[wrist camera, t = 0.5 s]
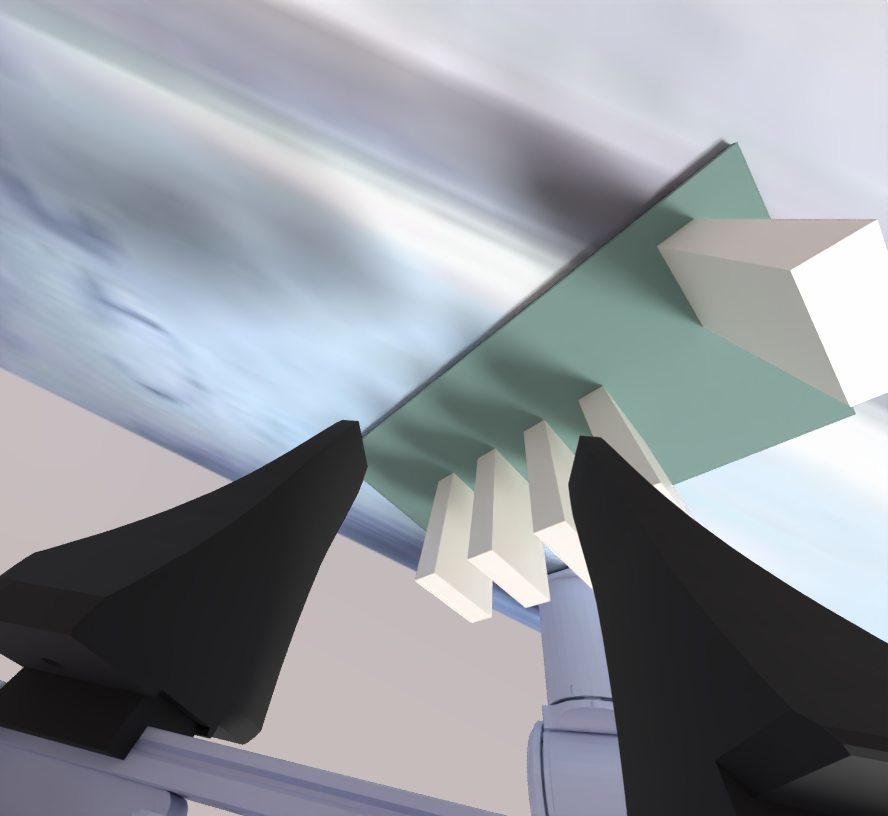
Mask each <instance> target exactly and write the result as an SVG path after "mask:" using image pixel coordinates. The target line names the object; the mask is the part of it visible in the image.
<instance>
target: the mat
mask: <svg viewBox="0 0 888 816" xmlns="http://www.w3.org/2000/svg"><path fill="white" fill-rule="evenodd" d="M693 219H771V218H770V216H769V214H768V211H767V209H766V207H765V204H764V202H763V200H762V198H761V195H760V193H759V191H758V188H757V186H756V184H755V181H754V179H753V177H752V175H751V172H750V170H749V168H748V165H747V163H746V161H745V158H744V156H743V154H742V152H741V149H740V147H739V145H738V142H737V143H733V144H731V145H730V146H728V147H727V148H726V149H725V150H723V151H722V152H721V153H720V154H718V155H717V156H716V157H714V158H713V159H712V160H711V161H709V162H708V163H707V164H706V165H704V166H703V167H702V168H701V169H699V170H698V171H697V172H696V173H694V174H693V175H692V176H691V177H689V178H688V179H687V180H686V181H684V182H683V183H682V184H681V185H679V186H678V187H677V188H676V189H674V190H673V191H672V192H671V193H669V194H668V195H667V196H665V197H664V198H663V199H662V200H660V201H659V202H658V203H657V204H655V205H654V206H653V207H652V208H650V209H649V210H648V211H647V212H645V213H644V214H643V215H642V216H640V217H639V218H638V219H637V220H635V221H634V222H633V223H632V224H630V225H629V226H628V227H627V228H625V229H624V230H623V231H622V232H620V233H619V234H618V235H616V236H615V237H614V238H613V239H611V240H610V241H609V242H608V243H606V244H605V245H604V246H603V247H601V248H600V249H599V250H598V251H596V252H595V253H594V254H593V255H591V256H590V257H589V258H588V259H586V260H585V261H584V262H583V263H581V264H580V265H579V266H578V267H576V268H575V269H574V270H572V271H571V272H570V273H569V274H567V275H566V276H565V277H564V278H562V279H561V280H560V281H559V282H557V283H556V284H555V285H554V286H552V287H551V288H550V289H549V290H547V291H546V292H545V293H544V294H542V295H541V296H540V297H539V298H537V299H536V300H535V301H534V302H532V303H531V304H530V305H529V306H527V307H526V308H525V309H523V310H522V311H521V312H520V313H518V314H517V315H516V316H515V317H513V318H512V319H511V320H510V321H508V322H507V323H506V324H505V325H503V326H502V327H501V328H500V329H498V330H497V331H496V332H495V333H493V334H492V335H491V336H490V337H488V338H487V339H486V340H485V341H483V342H482V343H481V344H480V345H478V346H477V347H476V348H474V349H473V350H472V351H471V352H469V353H468V354H467V355H466V356H464V357H463V358H462V359H461V360H459V361H458V362H457V363H456V364H454V365H453V366H452V367H451V368H449V369H448V370H447V371H446V372H444V373H443V374H442V375H441V376H439V377H438V378H437V379H436V380H434V381H433V382H432V383H430V384H429V385H428V386H427V387H425V388H424V389H423V390H422V391H420V392H419V393H418V394H417V395H415V396H414V397H413V398H412V399H410V400H409V401H408V402H407V403H405V404H404V405H403V406H402V407H400V408H399V409H398V410H397V411H395V412H394V413H393V414H392V415H390V416H389V417H388V418H387V419H385V420H384V421H383V422H381V423H380V424H379V425H378V426H376V427H375V428H374V429H373V430H371V431H370V432H369V433H368V434H366V435H365V436H364V437H363V438H362V440H363V445H364V450H365V455H366V460H367V465H368V468H367V471H366V474H365V476H364V479H363V480H364V481H365V482H367V483H368V484H369V485H370V486H372V487H373V488H374V489H375V490H376V491H378V492H379V493H380V494H381V495H383V496H384V497H385V498H386V499H387V500H389V501H390V502H391V503H392V504H394V505H395V506H396V507H397V508H398V509H400V510H401V511H402V512H403V513H405V514H406V515H407V516H408V517H409V518H411V519H412V520H413V521H414V522H415V523H417V524H418V525H419V526H420V527H422V528H423V529H424V530H425V531H426V532H427V527H428V523H429V519H430V515H431V511H432V507H433V503H434V499H435V494H436V490H437V486H438V482H439V481H440V480H442V479H444V478H445V477H447V476H449V475H450V474H452V473H455V474H456V475H457V476H458V477H459V478H460V479H461V480H462V481H463V482H464V483H465V484H466V485H467V486H468V487H470V488H471V489H472V490H473V491H474V490H475V480H476V471H477V461H478V458H480V457H481V456H483V455H485V454H486V453H488V452H490V451H492V450H493V449H496V450H497V451H498V452H499V453H500V454H501V455H502V456H503V457H504V458H505V459H506V460H507V461H508V462H509V463H510V464H511V465H512V466H513V467H514V468H515V469H516V470H517V471H518V472H519V473H520V474H521V475H522V476H523V477H524V479H525V480H526V481H527V482H528V472H527V462H526V452H525V441H524V431H526V430H528V429H529V428H531V427H533V426H534V425H536V424H538V423H540V422H541V421H543V420H545V421H546V423H547V424H548V425H549V426H550V427H551V428H552V429H553V431H554V432H555V433H556V434H557V435H558V436H559V437H560V439H561V440H562V441H563V442H564V443H565V444H566V446H567V447H568V448H569V449H570V450H571V451H572V452H573V454H574V455H575V453H576V449H577V445H578V441H579V436H593V435H592V432H591V430H590V428H589V425H588V423H587V420H586V418H585V416H584V413H583V411H582V408H581V406H580V404H579V401H578V400H579V399H581V398H583V397H584V396H586V395H588V394H589V393H591V392H593V391H595V390H596V389H598V388H600V387H601V386H604V388H605V389H606V390H607V392H608V393H609V394H610V396H611V397H612V398H613V400H614V401H615V402H616V404H617V405H618V406H619V408H620V409H621V410H622V412H623V413H624V414H625V416H626V417H627V418H628V420H629V421H630V422H631V424H632V425H633V426H634V428H635V429H636V430H637V432H638V433H639V434H640V436H641V437H642V438H643V440H644V441H645V443H646V444H647V446H648V447H649V449H650V450H651V452H652V454H653V455H654V457H655V458H656V460H657V461H658V463H659V465H660V466H661V468H662V469H663V471H664V472H665V474H666V476H667V477H668V479H669V480H670V482H671V483H672V485H675V484H677V483H680V482H682V481H685V480H687V479H690V478H693V477H695V476H698V475H700V474H703V473H705V472H708V471H711V470H713V469H716V468H718V467H721V466H723V465H726V464H729V463H731V462H734V461H736V460H739V459H741V458H744V457H747V456H749V455H752V454H754V453H757V452H759V451H762V450H765V449H767V448H770V447H772V446H775V445H777V444H780V443H783V442H785V441H788V440H790V439H793V438H795V437H798V436H801V435H803V434H806V433H808V432H811V431H813V430H816V429H819V428H821V427H824V426H826V425H829V424H831V423H834V422H837V421H839V420H842V419H844V418H847V417H849V416H852V415H855V411H854V409H853V407H852V406H851V407H850V406H848V405H846V404H844V403H842V402H840V401H839V400H837V399H835V398H833V397H831V396H829V395H828V394H826V393H824V392H822V391H820V390H818V389H816V388H815V387H813V386H811V385H809V384H807V383H805V382H804V381H802V380H800V379H798V378H796V377H794V376H792V375H791V374H789V373H787V372H785V371H783V370H781V369H780V368H778V367H776V366H774V365H772V364H770V363H769V362H767V361H765V360H763V359H761V358H759V357H757V356H756V355H754V354H752V353H750V352H748V351H746V350H745V349H743V348H741V347H739V346H737V345H735V344H733V343H732V342H730V341H728V340H726V339H724V338H722V337H721V336H719V335H717V334H715V333H713V332H711V331H710V330H708V329H706V328H704V327H703V326H702V324H701V322H700V321H699V319H698V317H697V315H696V314H695V312H694V310H693V308H692V307H691V305H690V303H689V301H688V300H687V298H686V296H685V294H684V293H683V291H682V289H681V287H680V286H679V284H678V282H677V281H676V279H675V277H674V275H673V274H672V272H671V270H670V268H669V267H668V265H667V263H666V261H665V260H664V258H663V256H662V254H661V253H660V251H659V249H658V248H657V246H658V245H659V244H660V243H662V242H663V241H664V240H666V239H667V238H669V237H670V236H671V235H673V234H674V233H675V232H677V231H678V230H679V229H681V228H682V227H683V226H685V225H686V224H688V223H689V222H690V221H692V220H693ZM528 483H529V482H528Z"/></svg>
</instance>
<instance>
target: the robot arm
mask: <svg viewBox="0 0 888 816" xmlns="http://www.w3.org/2000/svg"><path fill="white" fill-rule="evenodd" d="M367 468H368V465H367V460H366V455H365V450H364V445H363V440H362V436H361V431H360V426H359V421H349V420H341V421H339V422H337V423H335V424H333V425H332V426H330V427H328V428H327V429H325V430H323V431H322V432H320V433H319V434H317V435H315V436H314V437H312V438H310V439H309V440H307V441H306V442H304V443H302V444H301V445H299V446H297V447H296V448H294V449H292V450H291V451H289V452H288V453H286V454H284V455H282V456H281V457H279V458H277V459H275V460H273V461H272V462H270V463H268V464H266V465H265V466H263V467H261V468H259V469H258V470H256V471H254V472H252V473H250V474H248V475H246V476H244V477H242V478H240V479H238V480H236V481H234V482H232V483H230V484H228V485H226V486H224V487H221V488H219V489H217V490H215V491H213V492H211V493H208V494H206V495H203V496H201V497H199V498H196V499H194V500H191V501H189V502H186V503H184V504H182V505H179V506H177V507H174V508H172V509H169V510H167V511H164V512H161V513H158V514H156V515H153V516H150V517H148V518H145V519H142V520H139V521H136V522H133V523H130V524H127V525H125V526H122V527H119V528H116V529H113V530H110V531H106V532H103V533H100V534H97V535H93V536H90V537H87V538H83V539H80V540H77V541H73V542H70V543H67V544H63V545H60V546H57V547H54V548H50V549H47V550H43V551H39V552H35V553H33V554H32V555H30V556H28V557H26V558H25V559H23V560H22V561H20V562H19V563H17V564H16V565H14V566H13V567H12V568H10V569H9V570H7V571H6V572H5V573H3V574H2V575H1V576H0V654H2V655H4V656H5V657H7V658H9V659H10V660H12V661H14V662H16V663H17V664H19V665H21V666H22V667H23V668H22V669H21V670H20V671H19V672H18V673H17V674H16V675H15V676H14V677H13V678H12V679H11V680H10V681H9V682H7V683H6V682H4V681H1V680H0V816H187V812H188V805H187V801H186V800H185V799H187V800H191V801H194V802H198V803H201V804H205V805H208V806H212V807H215V808H219V809H223V810H226V811H229V812H233V813H236V814H240V815H243V816H506V815H502V814H498V813H493V812H490V811H486V810H482V809H478V808H474V807H469V806H466V805H462V804H457V803H453V802H450V801H445V800H441V799H437V798H434V797H430V796H426V795H422V794H417V793H414V792H409V791H405V790H401V789H397V788H393V787H389V786H385V785H381V784H377V783H373V782H369V781H365V780H361V779H357V778H353V777H349V776H345V775H341V774H337V773H333V772H329V771H325V770H321V769H317V768H313V767H309V766H305V765H301V764H297V763H293V762H289V761H285V760H281V759H277V758H273V757H269V756H265V755H261V754H257V753H253V752H249V751H245V750H241V749H237V748H233V747H229V746H225V745H221V744H217V743H213V742H209V741H205V740H201V739H197V738H193V737H194V735H197V736H202V737H206V738H211V737H214V738H218V739H222V740H226V741H230V742H234V743H238V744H242V745H243V744H246V743H248V742H249V741H250V740H252V739H253V738H254V737H255V736H256V735H257V734H258V733H259V732H260V731H261V730H262V726H263V723H264V720H265V716H266V713H267V710H268V707H269V704H270V701H271V698H272V695H273V692H274V689H275V685H276V682H277V679H278V676H279V673H280V670H281V667H282V664H283V662H284V659H285V656H286V653H287V650H288V647H289V645H290V642H291V639H292V636H293V633H294V631H295V628H296V625H297V623H298V620H299V617H300V615H301V612H302V610H303V607H304V604H305V602H306V599H307V597H308V594H309V591H310V589H311V587H312V585H313V582H314V580H315V577H316V575H317V573H318V570H319V568H320V565H321V563H322V561H323V559H324V557H325V555H326V553H327V551H328V549H329V547H330V545H331V543H332V541H333V540H334V538H335V536H336V534H337V532H338V530H339V528H340V527H341V525H342V523H343V521H344V519H345V517H346V515H347V513H348V512H349V510H350V508H351V506H352V504H353V502H354V500H355V498H356V496H357V494H358V492H359V490H360V487H361V485H362V482H363V479H364V476H365V474H366V471H367ZM568 488H569V496H570V503H571V509H572V515H573V519H574V523H575V526H576V530H577V534H578V537H579V541H580V544H581V548H582V552H583V555H584V559H585V562H586V566H587V569H588V573H589V576H590V580H591V583H592V587H593V589H591V588H590V587H589V586H588V585H587V584H586V583H585V582H584V581H583V580H582V579H581V578H580V577H579V576H578V575H577V574H576V573H575V572H574V571H573V570H572V569H570V568H568V569H565V570H562V571H558V572H555V573H552V574H549V575H547V577H548V585H549V593H550V601H549V602H545V603H541V604H538V605H537V606H538V607H539V614H540V625H541V635H542V646H543V655H544V666H545V677H546V688H547V699H548V706H542V712H543V721H537V722H536V723H535V725H534V728H533V730H532V732H531V733H530V736H529V740H528V748H527V778H528V791H529V800H530V809H531V815H532V816H888V643H886V642H884V641H883V640H881V639H879V638H877V637H876V636H874V635H872V634H870V633H869V632H867V631H865V630H863V629H862V628H860V627H858V626H857V625H855V624H853V623H851V622H850V621H848V620H846V619H844V618H843V617H841V616H839V615H838V614H836V613H834V612H832V611H831V610H829V609H827V608H825V607H824V606H822V605H821V604H819V603H817V602H816V601H814V600H812V599H811V598H809V597H807V596H806V595H804V594H802V593H801V592H799V591H798V590H796V589H794V588H793V587H791V586H790V585H788V584H786V583H785V582H783V581H782V580H780V579H779V578H777V577H776V576H774V575H772V574H771V573H769V572H768V571H766V570H765V569H763V568H762V567H760V566H759V565H757V564H755V563H754V562H752V561H751V560H749V559H748V558H746V557H745V556H744V555H742V554H741V553H739V552H738V551H736V550H735V549H733V548H732V547H731V546H729V545H728V544H726V543H725V542H724V541H722V540H721V539H719V538H718V537H717V536H715V535H714V534H713V533H711V532H710V531H708V530H707V529H706V528H704V527H703V526H702V525H700V524H699V523H698V522H696V521H695V520H694V519H693V518H691V517H690V516H689V515H687V514H686V513H685V512H684V511H683V510H681V509H680V508H679V507H678V506H676V505H675V504H674V503H673V502H672V501H670V500H669V499H668V498H667V497H666V496H664V495H663V494H662V493H661V492H660V491H659V490H657V489H656V488H655V487H654V486H653V485H652V484H651V483H650V482H648V481H647V480H646V479H645V478H644V477H643V476H642V475H641V474H640V473H639V472H638V471H636V470H635V469H634V468H633V467H632V466H631V465H630V464H629V463H628V462H627V461H626V460H625V459H624V458H623V457H622V456H621V455H620V454H618V453H617V452H616V451H615V450H614V449H613V448H612V447H611V446H610V445H609V444H608V443H607V442H606V441H605V440H604V439H602V438H601V437H593V436H579V441H578V445H577V449H576V453H575V457H574V462H573V466H572V470H571V474H570V478H569V482H568Z"/></svg>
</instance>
